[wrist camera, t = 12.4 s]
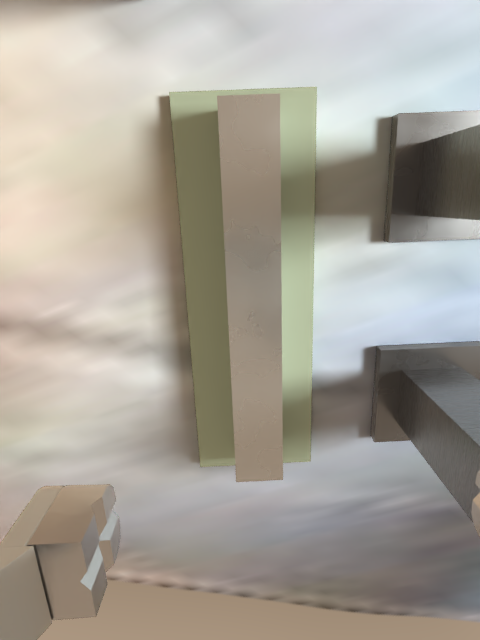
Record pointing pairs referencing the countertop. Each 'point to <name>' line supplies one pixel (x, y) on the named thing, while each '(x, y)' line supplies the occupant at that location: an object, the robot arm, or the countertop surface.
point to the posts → (436, 358)
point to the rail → (253, 278)
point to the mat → (210, 271)
